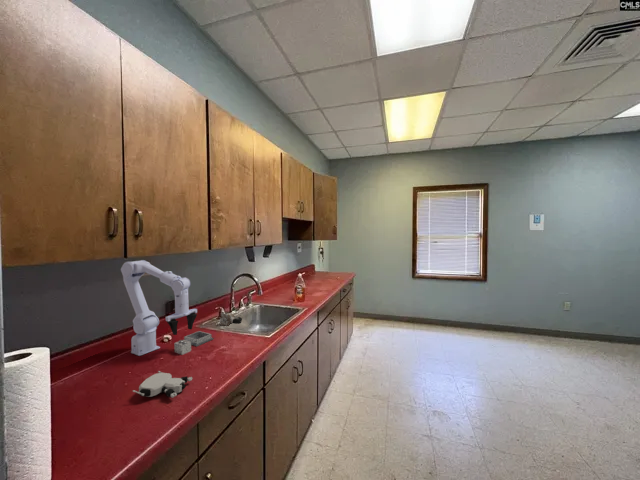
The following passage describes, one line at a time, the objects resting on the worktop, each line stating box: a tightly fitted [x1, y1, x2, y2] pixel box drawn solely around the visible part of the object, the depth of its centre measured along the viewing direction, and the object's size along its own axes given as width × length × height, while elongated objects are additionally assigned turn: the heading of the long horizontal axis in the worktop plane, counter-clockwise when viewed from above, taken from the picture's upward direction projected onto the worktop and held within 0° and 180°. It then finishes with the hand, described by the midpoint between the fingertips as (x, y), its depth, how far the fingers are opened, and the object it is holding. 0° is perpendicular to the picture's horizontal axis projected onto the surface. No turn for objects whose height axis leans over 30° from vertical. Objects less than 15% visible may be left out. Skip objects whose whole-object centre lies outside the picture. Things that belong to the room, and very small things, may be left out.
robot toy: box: [132, 370, 193, 398], centre depth 89 cm, size 12×4×15 cm
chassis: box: [183, 330, 215, 347], centre depth 133 cm, size 10×12×3 cm
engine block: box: [174, 339, 192, 356], centre depth 121 cm, size 4×6×5 cm
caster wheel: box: [219, 312, 243, 327], centre depth 159 cm, size 7×11×10 cm
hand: (182, 331), depth 121 cm, fingers open, 7 cm apart
